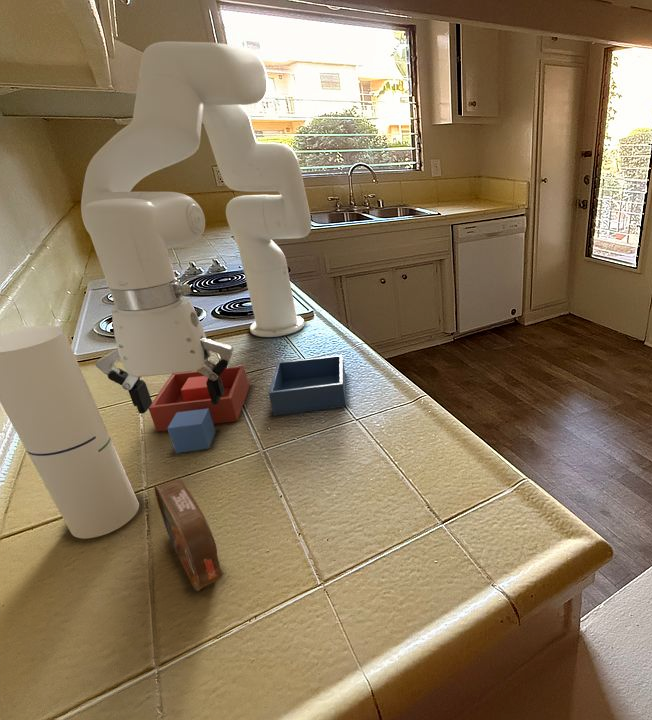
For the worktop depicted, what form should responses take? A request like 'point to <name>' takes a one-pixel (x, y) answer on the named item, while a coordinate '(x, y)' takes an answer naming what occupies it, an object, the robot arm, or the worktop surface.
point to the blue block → (191, 430)
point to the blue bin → (308, 385)
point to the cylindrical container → (63, 430)
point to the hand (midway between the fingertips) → (182, 404)
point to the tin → (189, 533)
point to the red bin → (224, 411)
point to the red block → (195, 389)
